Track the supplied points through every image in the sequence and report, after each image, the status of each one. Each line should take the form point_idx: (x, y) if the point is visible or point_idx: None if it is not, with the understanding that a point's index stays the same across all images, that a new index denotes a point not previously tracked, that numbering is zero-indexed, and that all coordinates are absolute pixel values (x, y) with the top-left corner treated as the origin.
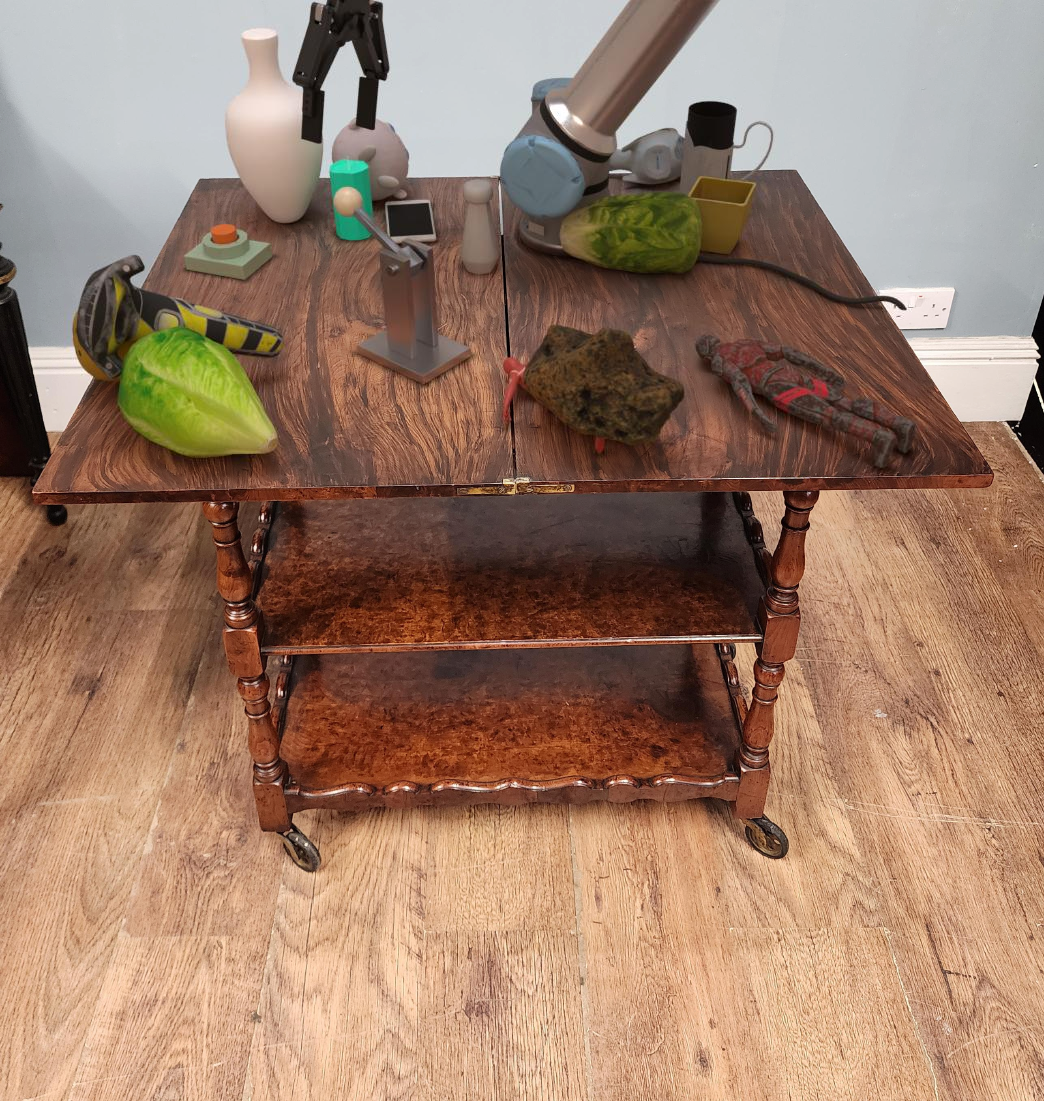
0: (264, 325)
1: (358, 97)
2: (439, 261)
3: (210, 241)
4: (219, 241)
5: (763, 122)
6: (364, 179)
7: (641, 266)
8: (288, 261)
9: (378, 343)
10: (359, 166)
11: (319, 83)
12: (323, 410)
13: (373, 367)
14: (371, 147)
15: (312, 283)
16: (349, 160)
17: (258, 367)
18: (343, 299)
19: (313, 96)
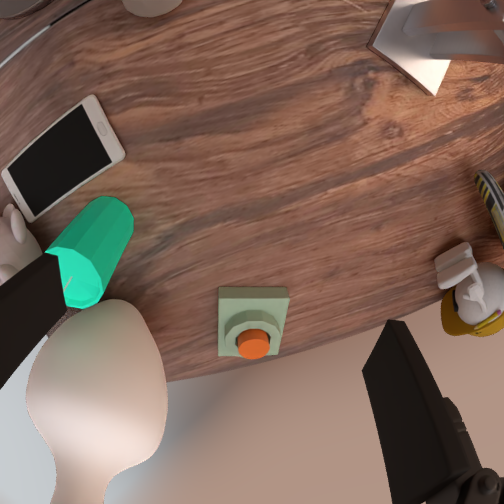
0: (497, 193)
1: (17, 363)
2: (151, 58)
3: None
4: (268, 340)
5: None
6: (75, 239)
7: None
8: (223, 264)
9: (428, 71)
10: None
11: (487, 496)
12: (496, 112)
13: (445, 74)
14: (3, 274)
15: (275, 209)
16: None
17: (452, 190)
18: (311, 149)
19: (469, 456)
